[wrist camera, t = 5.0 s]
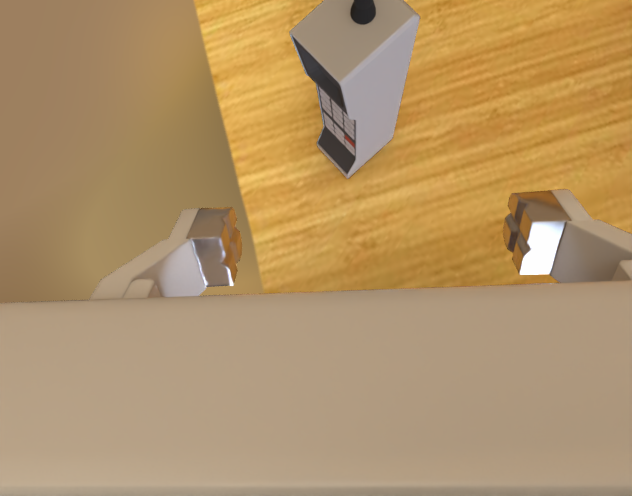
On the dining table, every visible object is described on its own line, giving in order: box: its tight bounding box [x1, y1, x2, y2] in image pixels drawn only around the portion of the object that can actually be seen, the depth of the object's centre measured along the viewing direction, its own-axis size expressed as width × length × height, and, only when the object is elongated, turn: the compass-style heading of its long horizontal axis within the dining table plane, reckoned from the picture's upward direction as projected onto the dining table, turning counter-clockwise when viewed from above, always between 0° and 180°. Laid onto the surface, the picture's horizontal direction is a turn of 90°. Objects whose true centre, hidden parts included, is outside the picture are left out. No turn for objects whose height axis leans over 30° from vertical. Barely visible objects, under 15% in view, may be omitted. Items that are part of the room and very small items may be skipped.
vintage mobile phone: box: [289, 0, 420, 179], centre depth 25 cm, size 4×5×25 cm
